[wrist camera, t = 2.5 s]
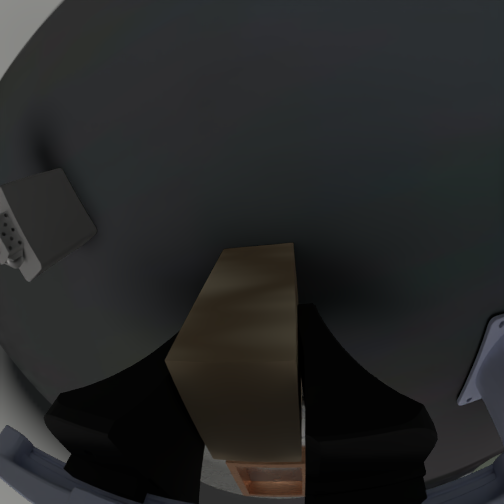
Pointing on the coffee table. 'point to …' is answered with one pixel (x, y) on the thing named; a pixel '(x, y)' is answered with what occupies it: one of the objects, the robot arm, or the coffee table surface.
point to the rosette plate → (257, 475)
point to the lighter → (41, 222)
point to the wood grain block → (244, 357)
